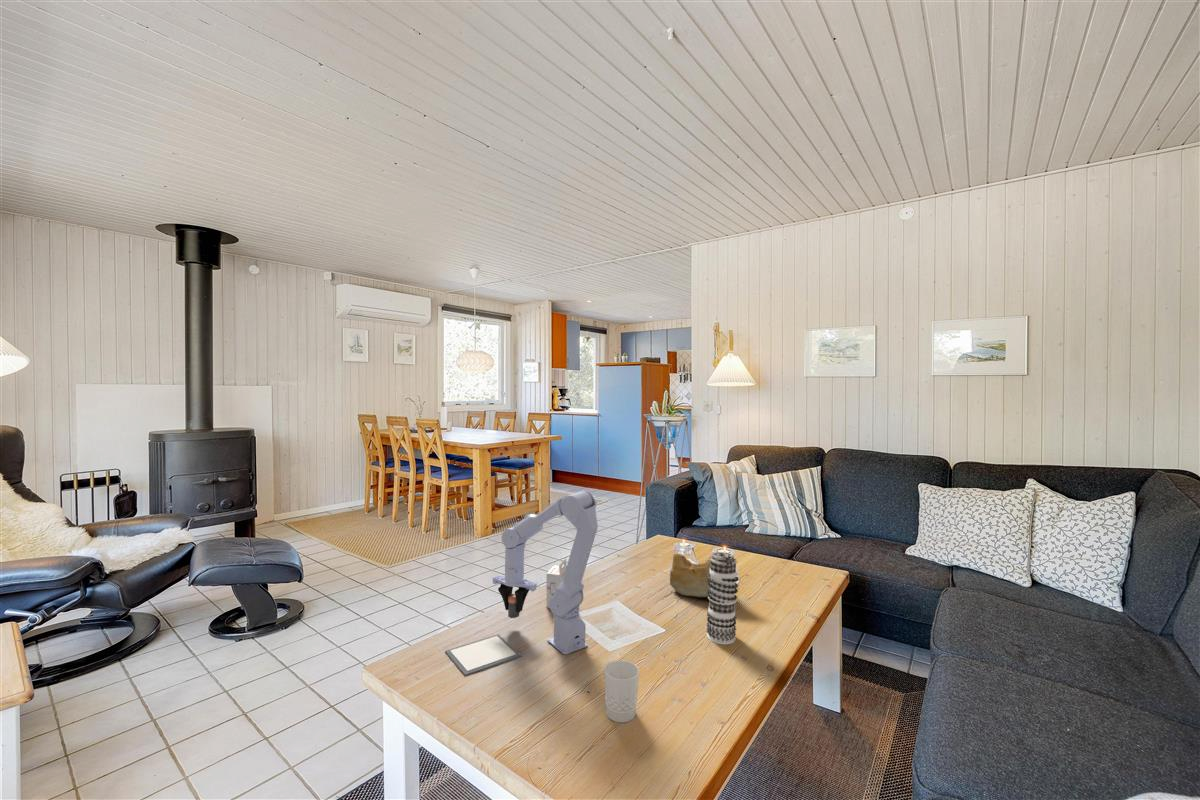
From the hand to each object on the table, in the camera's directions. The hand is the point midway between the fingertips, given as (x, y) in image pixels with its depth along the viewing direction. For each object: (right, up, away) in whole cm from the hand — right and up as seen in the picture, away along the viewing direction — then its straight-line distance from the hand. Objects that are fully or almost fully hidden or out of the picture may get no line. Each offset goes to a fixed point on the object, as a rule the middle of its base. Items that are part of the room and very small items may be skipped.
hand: (513, 610), depth 151 cm
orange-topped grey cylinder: (0, -2, 0) cm, 2 cm away
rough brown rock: (+65, -7, +29) cm, 71 cm away
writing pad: (-6, -6, -16) cm, 17 cm away
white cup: (+31, -7, -39) cm, 50 cm away
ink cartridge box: (+11, -6, +18) cm, 22 cm away
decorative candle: (+63, -7, -3) cm, 63 cm away
